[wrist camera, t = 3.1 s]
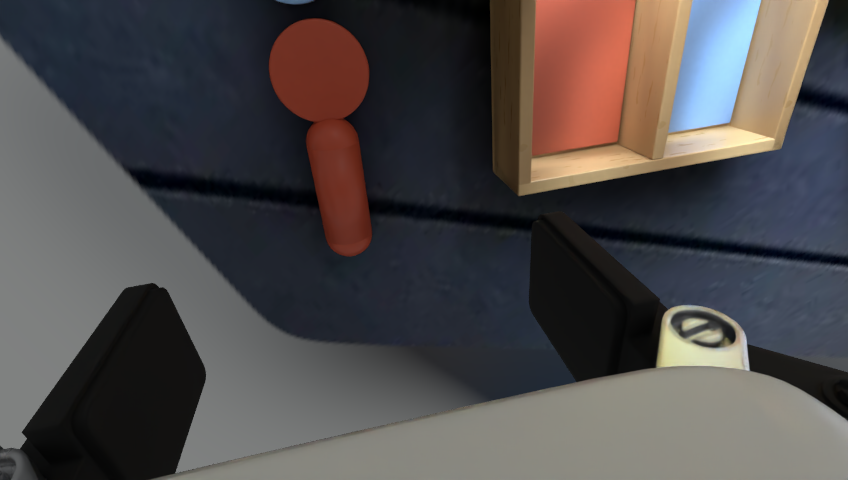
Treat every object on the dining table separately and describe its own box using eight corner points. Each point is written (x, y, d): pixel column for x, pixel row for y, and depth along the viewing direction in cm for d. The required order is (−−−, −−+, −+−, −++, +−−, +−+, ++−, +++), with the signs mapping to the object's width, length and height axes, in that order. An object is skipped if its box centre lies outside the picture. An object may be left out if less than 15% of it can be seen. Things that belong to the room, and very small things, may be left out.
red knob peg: (261, 22, 17) (253, 23, 15) (359, 13, 17) (364, 14, 15) (313, 248, 22) (312, 271, 20) (387, 236, 22) (394, 257, 20)
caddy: (492, 171, 22) (518, 196, 19) (486, -181, 15) (524, -224, 12) (725, 132, 23) (781, 149, 21) (809, -199, 17) (908, -241, 14)
